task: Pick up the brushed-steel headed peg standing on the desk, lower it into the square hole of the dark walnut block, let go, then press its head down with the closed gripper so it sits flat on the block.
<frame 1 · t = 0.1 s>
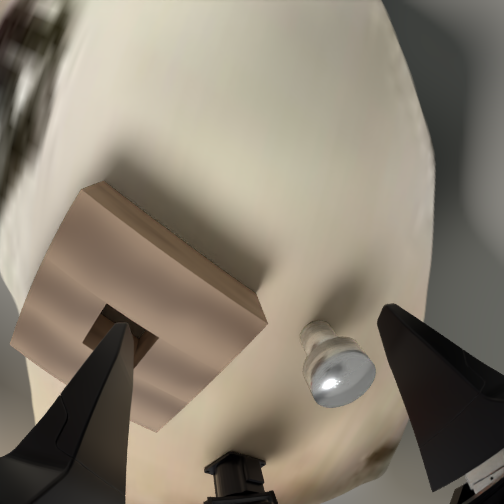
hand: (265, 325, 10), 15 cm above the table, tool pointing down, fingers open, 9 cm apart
walnut block: (130, 309, 25), on the table
steel peg: (315, 334, 30), on the table
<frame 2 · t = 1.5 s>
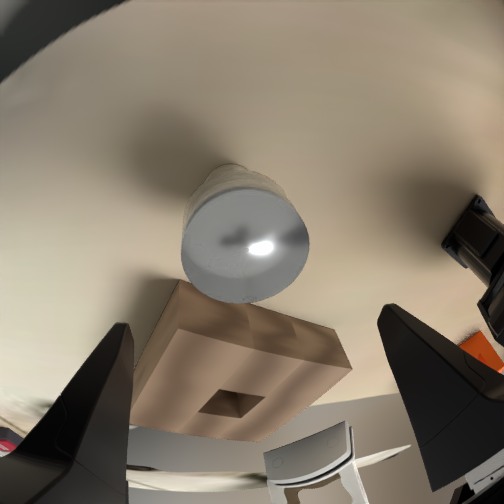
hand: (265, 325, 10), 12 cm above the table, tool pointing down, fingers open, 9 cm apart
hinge: (304, 438, 47), on the table
tape dispenser: (446, 370, 44), on the table
walnut block: (225, 362, 29), on the table
steel peg: (230, 189, 20), on the table
flat rectangular box: (9, 436, 40), on the table
gable box: (312, 471, 64), on the table
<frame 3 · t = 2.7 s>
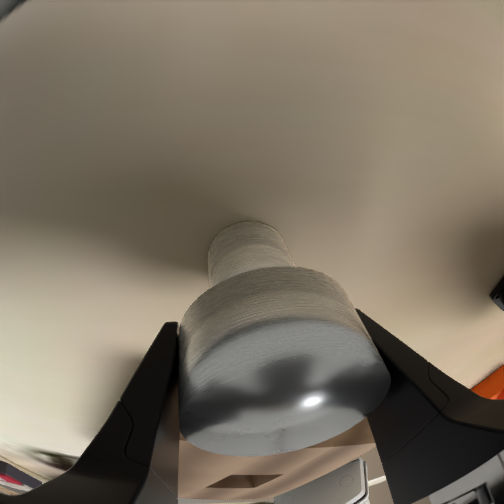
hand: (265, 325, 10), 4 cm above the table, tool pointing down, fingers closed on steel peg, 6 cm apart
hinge: (316, 475, 40), on the table
tape dispenser: (465, 402, 38), on the table
walnut block: (235, 430, 23), on the table
steel peg: (247, 256, 13), on the table, touching gripper
flat rectangular box: (4, 465, 34), on the table
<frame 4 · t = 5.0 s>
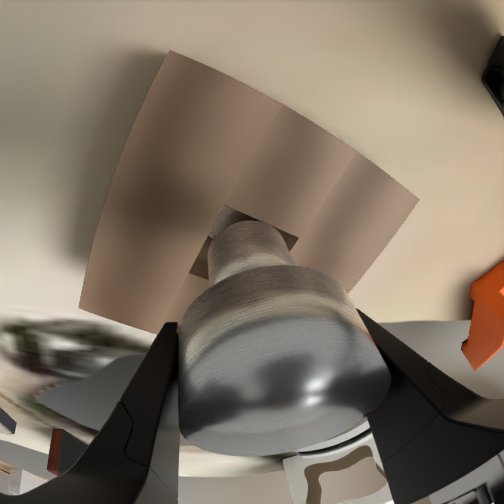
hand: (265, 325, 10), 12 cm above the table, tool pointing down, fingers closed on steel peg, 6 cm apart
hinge: (335, 391, 39), on the table
tape dispenser: (494, 299, 35), on the table
walnut block: (234, 215, 21), on the table
grey rectangular block: (50, 483, 68), on the table
steel peg: (247, 255, 13), point 8 cm above the table, touching gripper
radio: (89, 448, 43), on the table
gable box: (336, 448, 56), on the table
when the fingers open (6 cm above the table, at t = 7.1 s): steel peg drops 1 cm, resting on walnut block.
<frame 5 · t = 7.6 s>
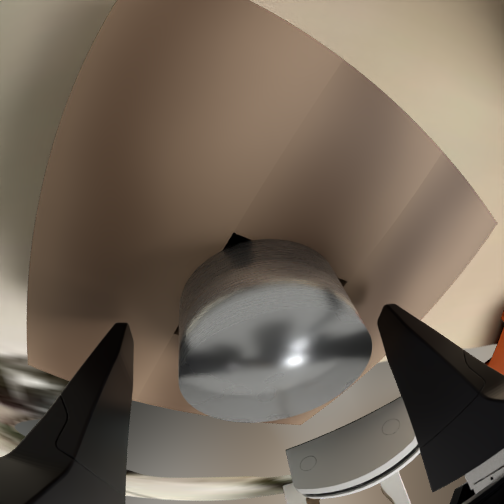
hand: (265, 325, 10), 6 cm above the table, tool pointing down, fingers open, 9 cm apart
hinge: (345, 426, 32), on the table
walnut block: (241, 236, 15), on the table
steel peg: (243, 240, 14), resting on walnut block
gable box: (340, 472, 49), on the table
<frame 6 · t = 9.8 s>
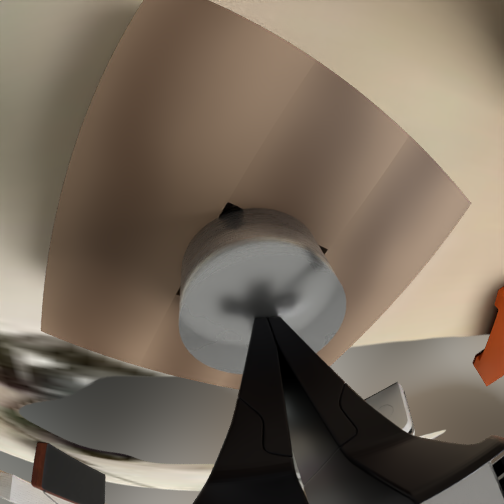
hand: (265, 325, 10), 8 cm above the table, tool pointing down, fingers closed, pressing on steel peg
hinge: (341, 412, 34), on the table
walnut block: (237, 216, 16), on the table
grey rectangular block: (40, 488, 63), on the table
steel peg: (239, 218, 16), resting on walnut block, touching gripper
radio: (76, 461, 38), on the table
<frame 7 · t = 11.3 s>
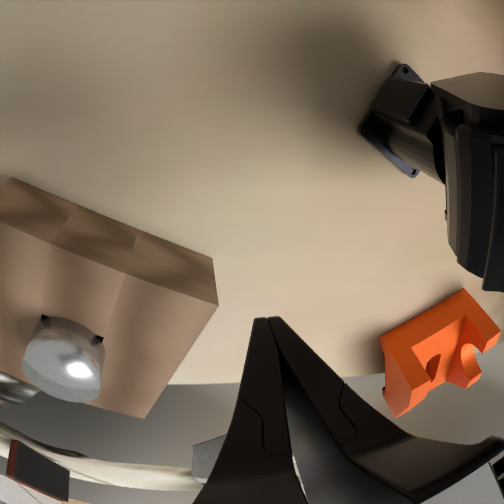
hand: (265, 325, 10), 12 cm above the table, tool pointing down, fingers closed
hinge: (239, 431, 39), on the table
tape dispenser: (419, 347, 37), on the table
walnut block: (83, 299, 22), on the table
grey rectangular block: (25, 487, 64), on the table
steel peg: (82, 302, 22), resting on walnut block
radio: (44, 457, 42), on the table
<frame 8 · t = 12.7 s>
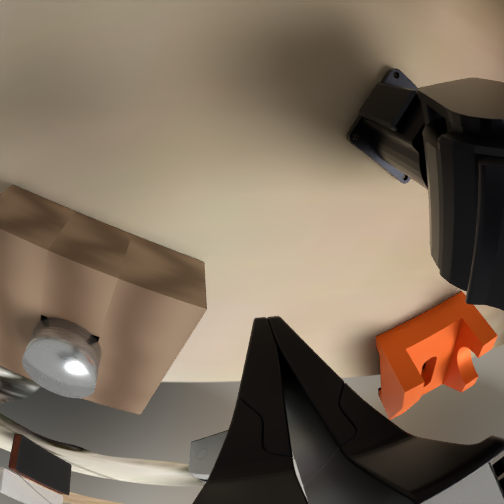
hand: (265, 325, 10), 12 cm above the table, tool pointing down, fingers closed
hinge: (236, 428, 40), on the table
tape dispenser: (415, 349, 37), on the table
walnut block: (82, 300, 23), on the table
grey rectangular block: (28, 481, 68), on the table
steel peg: (81, 302, 23), resting on walnut block
radio: (46, 451, 44), on the table
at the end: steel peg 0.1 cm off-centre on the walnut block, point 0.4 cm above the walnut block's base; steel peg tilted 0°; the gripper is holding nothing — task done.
